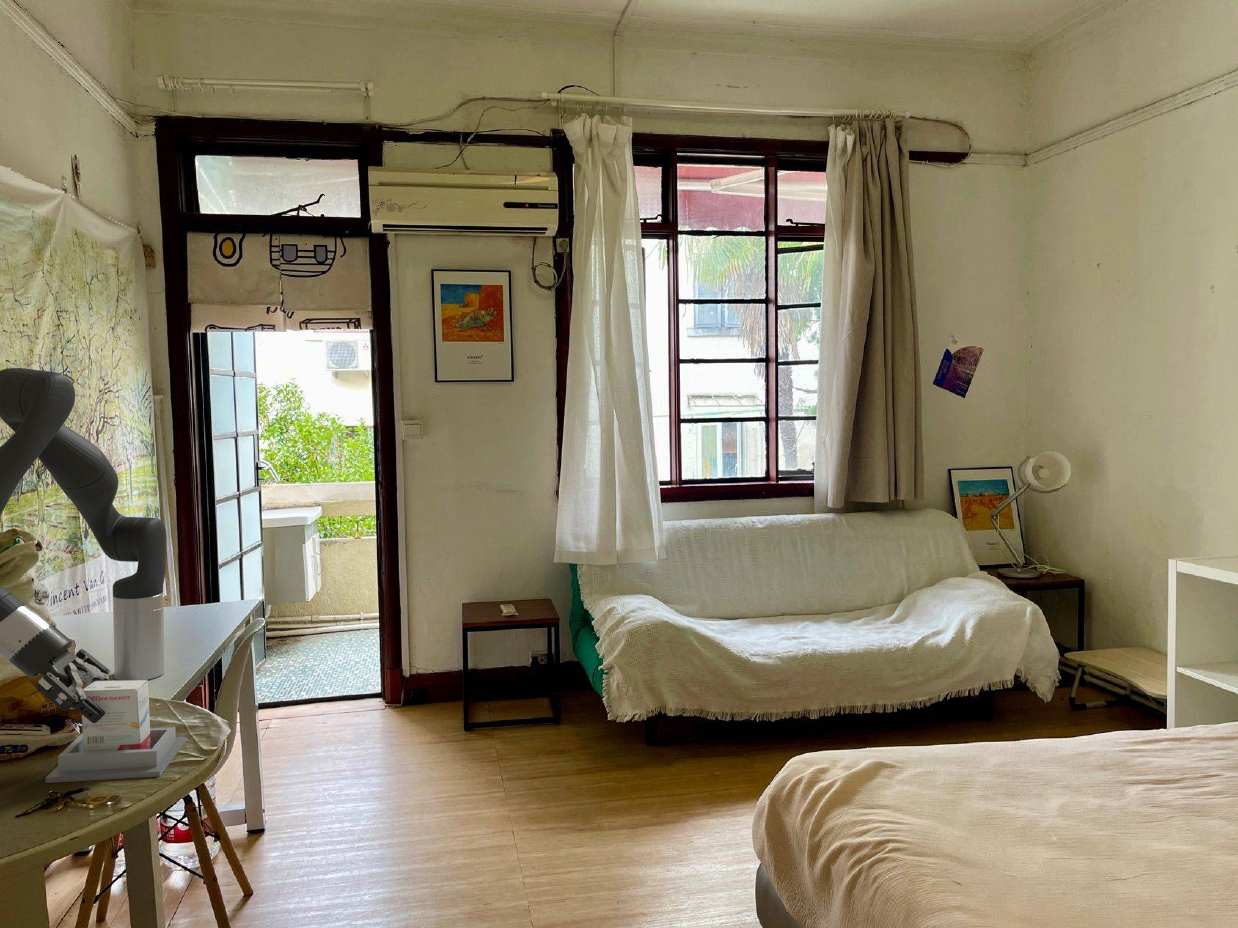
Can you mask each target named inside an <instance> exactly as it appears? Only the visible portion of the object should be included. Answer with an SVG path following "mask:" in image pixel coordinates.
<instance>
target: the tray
mask: <svg viewBox="0 0 1238 928" xmlns="http://www.w3.org/2000/svg"><path fill="white" fill-rule="evenodd" d="M150 738H151V748H150V749H139V750H119V751H100V752H84V746H83V732H82V733H81V734H80V735H78V737H76V739H75V740H73V741H72V742H71V743H70V744H69V745H68V746H67V747H66V748H65V749H64V750H63V751H62V752H61V753H60V754H58V756H57V764H58V765H57V766H56V767H55V768H54V769H53V770H52V771H51V772H50V773H49V774H48V775H47V776H46V777H45V783H46V784H49V783H51V784H52V783H65V782H66V783H67V782H69V783H70V782H81V781H82V782H86V781H103V780H104V781H105V780H118V779H120V780H121V779H122V780H123V779H139V778H155V777H161V776H162V774H163V773H164V772H165V770H166V768H168V766H169V765H170V763H171V762H172V761H173V759H174V758H175V757H176V755H177V754H178V752H179V751H180V750H181V748H182V747H183V746H184V744H186V741H187V740H186V736H177V731H176V726H172V727H153V728H152V727H150Z"/></svg>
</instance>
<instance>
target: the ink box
mask: <svg viewBox="0 0 1238 928" xmlns="http://www.w3.org/2000/svg"><path fill="white" fill-rule="evenodd" d="M82 690H83V691H84V693H85V695H86V698H87V697H88V698H90V699H91V700H92V701H93V702H94V703H96V704H97V705H98V706H99V707H100V708H102V709H103V710H104V711H105V715H104V716H103V717H102V718H101V719H100V720H99V721H98V722H96V723H92V722H91V721H89V720H88V719H87V718H86V717H84V716H83V715H82V714H81V724H82V728H81V729H82V733H83V746H84V752H100V751H119V750H139V749H150V748H151V738H150V728H151V723H150V722H151V721H150V720H151V718H150V716H151V715H150V701H149V700H150V695H149V693H150V692H149V679H148V680H129V681H119V680H110V681H95V682H93V683H91V684H90V685H88V686H85V687H84V688H82ZM86 698H85V699H86Z"/></svg>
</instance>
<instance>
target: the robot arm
mask: <svg viewBox="0 0 1238 928" xmlns="http://www.w3.org/2000/svg"><path fill="white" fill-rule="evenodd" d="M75 401H76V390H75V386H74V383H73V382H72V380H71V379H70V378H69V377H68V376H66V375H65V374H63V373H60V372H55V371H49V370H40V369H31V368H24V367H8V368H3V369H1V370H0V419H1V420H2V421H3V422H4V423H5V424H6V425H7V426H8V427H9V428H10V429H11V430H12V431H13V432H14V433H13V434H12V435H11V436H10V437H9V438H8V439H7V440H6V441H5V442H4V443H3V444H1V446H0V517H1V516H2V514H3V512H4V511H5V509H6V506H7V504H8V503H9V501H10V499H11V497H12V495H13V494H14V491H15V490H16V488H17V487H18V485H19V483H20V482H21V480H22V479H23V478H24V476H25V474H27V472H28V471H29V470H30V468H31V467H32V466H33V464H34V463H35V462H36V460H37V459H38V460H39V462H41V464H42V466H44V467H45V469H46V470H47V471H48V472H49V473H50V475H51V477H53V480H54V481H55V482H56V484H57V485H58V487H59V488H60V489H61V491H62V492H63V493H64V494H65V495H66V496H67V498H68V499H69V500H70V501H71V502H72V504H73V505H74V506H75V508H76V510H77V511H78V512H79V514H80V515H81V517H82V518H83V519H84V520H85V522H86V524H87V525H88V527H89V529H90V531H91V532H92V535H93V536H94V538H95V540H96V541H97V544H98V545H99V547H100V548H101V550H102V551H103V553H104V554H105V555H106V556H107V557H108V558H109V559H110V560H112V561H113V560H114V561H116V562H126V563H127V562H129V563H130V562H131V563H136V562H137V567H136V568H137V569H136V572H135V573H133V574H132V575H129V576H125V577H122V578H120V579H117V580H115V581H114V583H113V585H112V611H113V613H112V615H113V618H112V619H113V621H112V623H113V665H114V666H113V667H114V671H113V672H114V679H115V681H129V680H148V681H149V680H153V679H155V678H158V677H160V676H162V675H163V674H165V672H166V671H165V668H166V667H165V628H164V627H165V624H164V623H165V619H164V618H165V615H164V610H165V608H164V583H165V579H166V569H167V568H166V564H167V563H166V562H167V560H166V559H167V541H168V540H167V530H166V526H165V524H164V522H163V521H162V520H161V519H159V517H158V518H157V517H148V516H146V517H145V516H125V515H123V514H121V513H120V512H119V511H118V510H117V508H115V505H114V504H113V503H114V500H115V498H116V495H117V493H118V489H119V476H118V473H117V471H116V470H115V468H114V467H113V466H112V463H111V462H110V460H109V459H108V458H107V456H106V455H105V453H104V452H103V451H102V450H101V449H100V448H99V447H98V446H97V445H96V444H94V443H93V442H91V441H90V440H89V439H87V438H86V437H84V436H83V435H81V434H79V433H78V432H76V431H75V430H73V429H72V428H70V427H68V426H67V425H65V422H66V421H67V419H68V418H69V416H70V414H71V413H72V411H73V409H74V405H75ZM72 645H73V641H72V640H71V639H70V638H69V637H68V636H66V635H65V634H64V633H63V632H61V630H59V629H58V628H57V627H56V626H54V625H53V624H52V623H51V622H49V621H48V620H47V619H46V618H45V617H44V616H43V615H41V614H40V613H38V611H36V610H34V609H32V608H31V607H29V606H28V605H27V604H25V603H24V602H23V601H22V600H20V599H19V597H17V596H16V595H14V594H13V593H12V591H10V590H8V589H7V588H6V587H4V586H3V585H2V584H0V655H2V657H4V658H5V659H6V660H7V661H9V662H10V663H11V664H12V665H13V666H14V667H16V668H17V669H18V670H19V671H20V672H22V673H23V674H24V675H25V676H26V677H28V678H29V679H35V678H37V677H38V676H40V675H41V678H40V679H39V680H38V681H37V682H35V684H34V687H35V688H36V689H37V690H38V691H40V692H41V694H42V695H44V696H45V697H46V698H47V699H49V700H50V701H51V702H52V703H53V704H54V706H57V707H58V708H59V709H60V710H61V711H62V712H63V711H64V712H66V711H67V710H68V709H70V710H76V711H77V712H79V714H81V716H82V715H83V716H84V717H86V718H87V719H88V720H89V721H91V722H92V723H96V722H98V721H99V720H100V719H101V718H102V717H103V716H104V715H105V711H104V710H103V709H102V708H100V707H99V706H98V705H97V704H96V703H94V702H93V701H92V700H91V699H90V698H88V697H87V698H86V695H85V693H84V691H83V687H84V688H85V687H87V686H88V685H90V684H91V683H93V682H95V681H111V680H110V676H109V674H110V672H111V670H110V669H109V668H108V667H106V666H105V665H104V664H102V663H101V662H100V661H99V660H98V659H96V658H95V657H94V656H93V655H91V654H90V653H89V652H88V651H87V650H86V649H83V648H80V649H79V650H78V651H77V652H75V654H73V653H72V652H70V650H69V649H70V648H71V646H72ZM85 698H86V699H85Z"/></svg>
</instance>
